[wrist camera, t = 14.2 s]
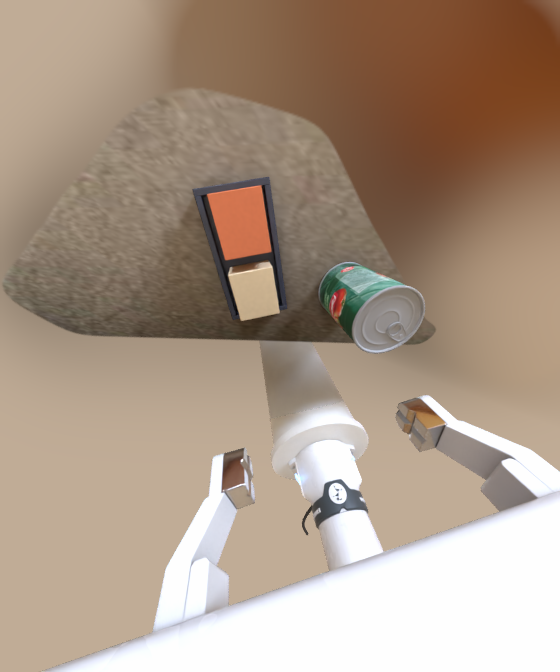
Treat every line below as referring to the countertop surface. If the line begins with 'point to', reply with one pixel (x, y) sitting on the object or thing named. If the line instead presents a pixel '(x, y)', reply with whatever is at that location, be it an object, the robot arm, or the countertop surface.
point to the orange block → (240, 222)
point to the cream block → (254, 290)
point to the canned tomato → (371, 307)
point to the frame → (225, 265)
